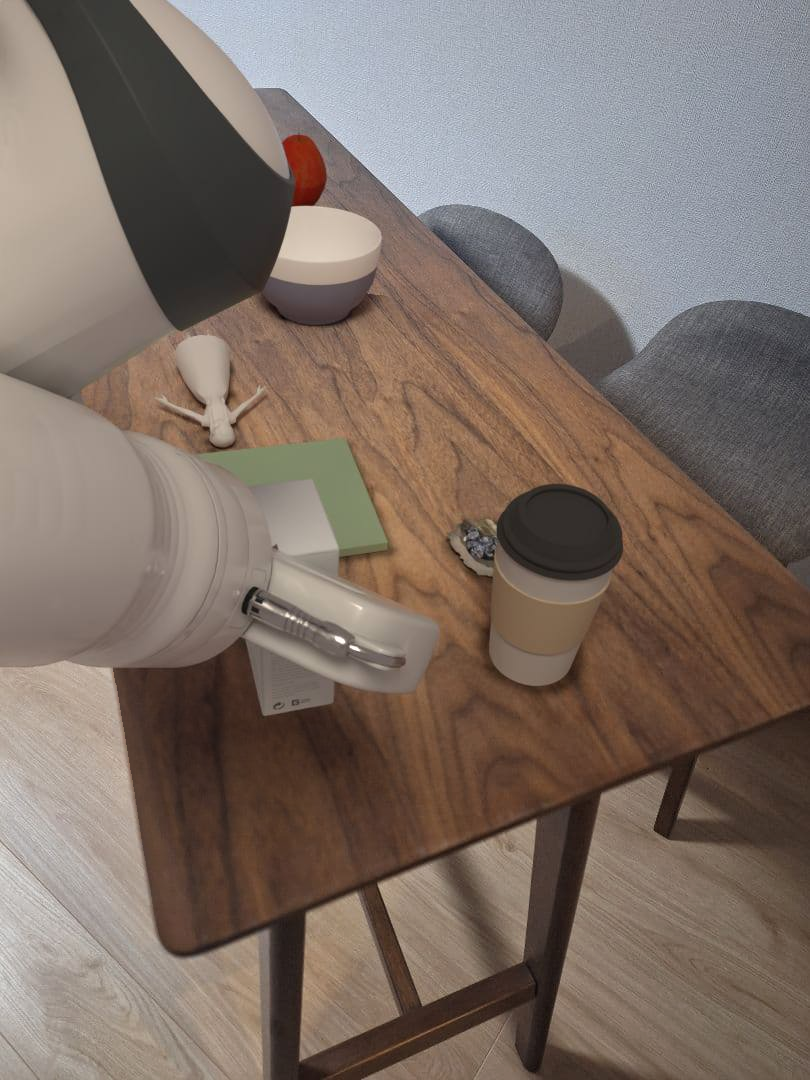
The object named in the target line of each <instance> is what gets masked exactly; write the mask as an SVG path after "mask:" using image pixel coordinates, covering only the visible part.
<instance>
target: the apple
mask: <svg viewBox="0 0 810 1080" xmlns="http://www.w3.org/2000/svg"><path fill="white" fill-rule="evenodd" d="M312 139H313V138H311V137H309V135H305V134H301V133H300V132H298V134H292V135H290V136H287V137H286V138H284V139H283V141H281V142H282V145H283V148H284V151H285V155H286V158H287V161H288V163H289V165H290V167H291V169H292V171H293V174H294V177H295V188H294V196H293V201H292V207H294V206H316V204H317V203H318V202H319V200H320V199H321V196H322V194H323V192H324V190H325V188H326V185H327V180H328V176H327V175H328V174H327V167H326V164H325V160H324V158H323V156H322V154H321V151H320V150H319V148H318V146H317V144H316V143H315V142H314V140H312Z"/></svg>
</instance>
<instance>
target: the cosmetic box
mask: <svg viewBox="0 0 810 1080" xmlns="http://www.w3.org/2000/svg"><path fill="white" fill-rule="evenodd" d="M247 487H248V488H249V489H250V491H251V492H252V494H253V495H254V496H255V498H256V499H257V501H258V503H259V505H260V506H261V509H262V511H263V513H264V515H265V518H266V521H267V524H268V528H269V532H270V537H271V545H272V547H273V548H275V549H277V550H280V551H282V552H284V553H286V554H288V555H291V556H293V557H296V558H299V559H301V560H303V561H306V562H308V563H310V564H312V565H314V566H317V567H319V568H321V569H323V570H326V571H328V572H330V573H332V574H335V575H337V576H339V572H340V557H339V546H338V543H337V540H336V537H335V535H334V532H333V529H332V526H331V524H330V521H329V519H328V516H327V514H326V511H325V509H324V506H323V504H322V501H321V498H320V496H319V493H318V490H317V488H316V485H315V482H314V480H313V479H306V480H297V481H289V482H281V483H272V484H264V485H254V486H247ZM339 577H340V576H339ZM245 643H246V648H247V652H248V657H249V663H250V665H251V670H252V675H253V679H254V683H255V688H256V692H257V697H258V702H259V705H260V711H261V714H262V716H264V717H267V716H274V715H277V714H284V713H289V712H294V711H299V710H303V709H304V710H305V709H309V708H314V707H320V706H326V705H331V704H333V703H334V700H335V681H332V680H330V679H328V678H325V677H323V676H320V675H318V674H316V673H314V672H312V671H310V670H308V669H305V668H303V667H301V666H299V665H297V664H295V663H293V662H291V661H289V660H287V659H285V658H283V657H281V656H279V655H277V654H275V653H273V652H271V651H269V650H266V649H264V648H262V647H260V646H258V645H256V644H254V643H252V642H250V641H248V640H246V639H245Z"/></svg>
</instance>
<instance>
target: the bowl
mask: <svg viewBox="0 0 810 1080" xmlns="http://www.w3.org/2000/svg"><path fill="white" fill-rule="evenodd" d="M382 243H383V237H382V232H381V230H380V229H379V227H378V226H377V225H376V224H375V223H373V222H372V221H371V220H369V219H367V218H366V217H364V216H362V215H359V214H357V213H355V212H351V211H348V210H346V209H341V208H340V209H339V208H335V207H329V206H319V205H314V206H294V207H291V212H290V217H289V221H288V226H287V229H286V233H285V237H284V240H283V243H282V246H281V249H280V252H279V255H278V258H277V260H276V263H275V265H274V268H273V270H272V273H271V275H270V277H269V279H268V281H267V284H266V286H265V288H264V290H263V291H262V292H261V293H262V295H263V297H264V298H265V299H266V300H267V302H269V303H270V304H271V305H272V306H274V307H276V309H277V311H278V313H279V314H280V315H281V316H282V317H284V318H285V319H287V320H289V321H291V322H295V323H297V324H302V325H308V326H321V325H322V326H323V325H330V324H334V323H337V322H339V321H341V320H344V319H345V318H347V316H348V315H349V314H350V312H351V310H353V309H354V308H355V307H357V306H358V305H359V304H361V303H362V301H363V300H364V298H365V297H366V295H367V294H368V292H369V291H370V289H371V287H372V286H373V285H374V281H375V278H376V274H377V270H378V266H379V263H380V260H381V250H382Z"/></svg>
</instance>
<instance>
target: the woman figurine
mask: <svg viewBox="0 0 810 1080" xmlns="http://www.w3.org/2000/svg"><path fill="white" fill-rule="evenodd" d="M184 338H185V339H184V340H182V341H181V342H179V343H178V344H177V347H176V349H175V351H174V353H173V355H172V357H173V360H174V362H175V365H176V367H177V369H178V371H179V373H180V376H181V377H182V379H183V382H184V383H185V384H186V386H187V387H188V389H189V390H190V391H191V393H192V394H193V395H194V398H196V399H197V400H198V401H199V402H200V403H202V404H203V405H205V410H204V412H203V414H199V413H197V412H195V411H193V410H190V409H188V408H185V407H181V406H178V405H176V404H174V403H171V402H169V401H168V399H167V397H166V396H164V394H161V395H160V396H161V398H160V397H159V396H154V400H155V401H156V402H157V403H158V404H160V405H161V406H166V407H168V408H169V409H170V408H171V409H172V410H174V411H177V412H178V413H180V414H182V415H184V416H187V417H189V418H191V419H193V420H195V421H196V422H198V423H200V425H201V427H205V428H206V427H207V428H209V432H210V434H209V440H208V441H209V442H210V444H213V446H215V447H218V448H227V447H229V446H231V445H233V444H234V442H235V441H236V435H235V433H234V429H233V427H232V426H231V425H233V424H235V423H237V418H238V417H239V416H240V414H241V413H242V412H244V410H246V409H248V408H249V407H250V406H251V405H252V404H253V403H254V402H255V401H256V400H257V399H259V397H260V396H262V395H264V393H265V392H266V390H267V389H268V387H267V385H265V386H264V387H262V385H261V384H259V386H258V387H257V389H256V393H255V394H254V395H253V396H251V397H250V398H249V399H248V400H245V401H244V402H241V404H240V405H238V406H237V407H235V409H234V410H232V411H231V410H230V409H229V407H228V405H227V404H226V400H227V398H228V396H229V388H230V378H231V377H230V376H231V374H230V373H231V354H232V351H231V349H230V347H229V346H228V344H227V343H226V341H225V340H224V339H222V338H220V337H217V336H215V335H212V332H211V331H210V330H206V332H205V334H198V335H193V336H192V334H191V332H190V331H189V332H186V333H185V337H184ZM261 387H262V388H261Z"/></svg>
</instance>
